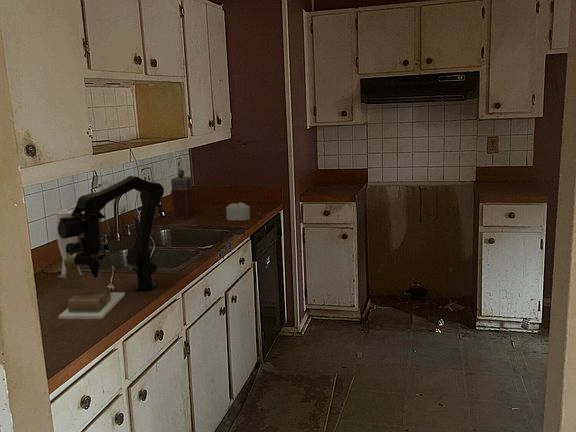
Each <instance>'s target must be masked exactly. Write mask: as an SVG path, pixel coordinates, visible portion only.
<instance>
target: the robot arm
mask: <svg viewBox="0 0 576 432" xmlns="http://www.w3.org/2000/svg"><path fill="white" fill-rule="evenodd" d="M132 190H135V191H137V192H140V193H139V198H140V202H141V210H140V216H139V221H138V227H137V233H136V236H135V242H134V245H133V246H132V247H128V248H127V253H126V254H127V255H126V257H125V259H126V264H127V266H129V267H130V269H131V271H133V272H135V273H136V275H135V276H136V286H135V288H133V290H134V291H152V290H153V289H154V288H155V287H156V286H157V282H154V279H153V278H154V277H153V275H154V273H157V270H158V265H156V264H155V263H154V262H152V261H151V256H152V254H151V250H150V247H149V246H150V241H151V240H150V239H151V235H152V229H153V225H154V219H155V213H156V209H157V206H158V205H159V204H161V201H162V198H163V196H164V193H165V188H164V186H163V185H162V184H161V183H159V182H155V181H153V182H152V181H148V180H146V179H143V178H140V177H139V176H135V175H128V176H127V177H126V178H124V179H122V180H120V181H118V182H116V183H114V184H112V185H110V186H109V187H106V188H105V189H104V188H103V190H101V191H97V192H91V193H87V194H84V195H81V196H80V197H78V198H77V202H76V206H75V207H74V209H73V211H72V215H71V216H72V217H66V218H65V217H63V218H60V222H59V224H58V233H59V235H60V237H61V238H62V239H66V238H71V237H75V236H77V237H79V236H81V235H82V236H81V237H80V238H79V240H77V242H75V243H72V242H71V243H69V244H67V245H66V252H67V253H69V254H70V255H73V254H74V253H76V257H75V258H74V264H75V265H79V266H80V265H83V266H86V265H87V267H88V268H89V270H90V272H91V275H93V278H95V279H96V278H98V277H99V274H100V272H101V269H102V266H103V264H104V262H105V258H106V256H107V254H103V253H102V251H106V252H111V251H112V250H113V245H112V243H110V242H109V241H102V239H103V238H104V234H103V233H101V225H100V220H101V219H106V215H104V214H103V213H102V212H101V211H102V210H103V209H105V208H106V206H107V204H108V203H110V202H112V201H114V200H115V199H117V198H119V197H121V196H123V195H125V194H128V192H130V191H132ZM79 252H80V253H79ZM77 253H79V254H77Z"/></svg>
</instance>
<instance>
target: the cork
mask: <svg viewBox="0 0 576 432" xmlns="http://www.w3.org/2000/svg"><path fill="white" fill-rule="evenodd" d="M74 258H75V257H70V258H66V259H65V260H64V265H65V267H66V279H65V289H68V290H69V289H71V290H72V289H79V288H81V287H82V286H83V282H82V278H81V276H80V273H79V269H78V265H75V264H74Z"/></svg>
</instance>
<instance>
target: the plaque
mask: <svg viewBox="0 0 576 432" xmlns="http://www.w3.org/2000/svg"><path fill="white" fill-rule="evenodd" d="M110 292H111V289H110V288H109V289H105V288H104V289H103V288H101V289H98V288H97V289H94V288H93V289H91V288H89V289H88V288H85V289H83V288H81V289H80V290H79V291H77V293H76V294H74V295H73V296H72V297H70V298H69V299H68V300H67V308H68V310H69V313H99V312H100V311H101V310H102V309H103V308H104V307H105V306H106V305H107V304H108V303H109V302H110V301H111V294H110Z"/></svg>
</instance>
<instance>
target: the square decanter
mask: <svg viewBox="0 0 576 432" xmlns="http://www.w3.org/2000/svg"><path fill="white" fill-rule="evenodd" d="M192 179H193V178H192V176H185V170H184V169H178V171H177V176H176V177H173V178H171V180H170V182H171V183H170V184H171V191H170V195H171V197H170V198H171V205H172V214H173V215H172V218H173V220H189V219H191V218H194V216H195V215H194V214H195V213H194V198H193V182H192V181H193V180H192Z"/></svg>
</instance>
